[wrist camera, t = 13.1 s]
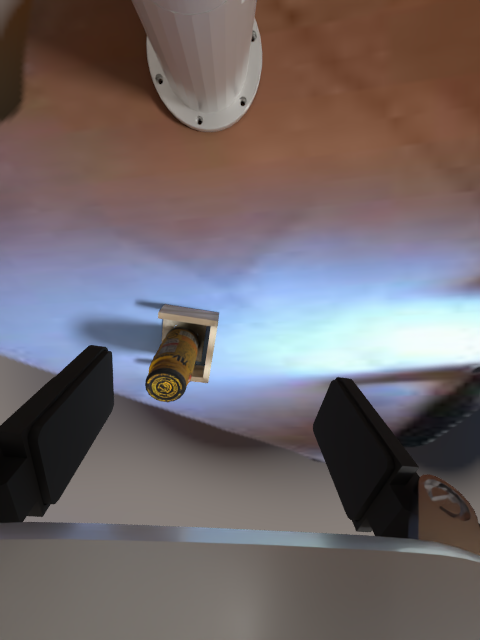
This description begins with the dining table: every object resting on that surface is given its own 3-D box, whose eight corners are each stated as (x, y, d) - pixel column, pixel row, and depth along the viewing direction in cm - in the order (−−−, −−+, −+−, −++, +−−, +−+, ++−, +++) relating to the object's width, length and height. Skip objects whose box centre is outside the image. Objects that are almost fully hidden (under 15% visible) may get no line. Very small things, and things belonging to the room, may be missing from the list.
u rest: (164, 304, 38) (158, 312, 35) (218, 312, 39) (218, 321, 36) (160, 364, 42) (155, 376, 39) (209, 370, 44) (208, 383, 40)
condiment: (160, 355, 42) (136, 404, 31) (163, 312, 38) (138, 350, 28) (201, 361, 43) (191, 410, 32) (207, 319, 39) (199, 359, 28)
